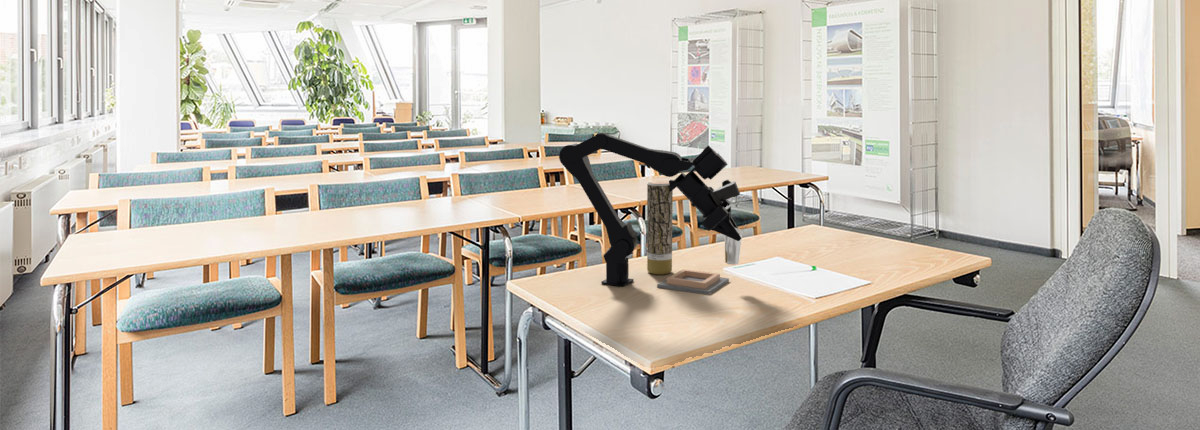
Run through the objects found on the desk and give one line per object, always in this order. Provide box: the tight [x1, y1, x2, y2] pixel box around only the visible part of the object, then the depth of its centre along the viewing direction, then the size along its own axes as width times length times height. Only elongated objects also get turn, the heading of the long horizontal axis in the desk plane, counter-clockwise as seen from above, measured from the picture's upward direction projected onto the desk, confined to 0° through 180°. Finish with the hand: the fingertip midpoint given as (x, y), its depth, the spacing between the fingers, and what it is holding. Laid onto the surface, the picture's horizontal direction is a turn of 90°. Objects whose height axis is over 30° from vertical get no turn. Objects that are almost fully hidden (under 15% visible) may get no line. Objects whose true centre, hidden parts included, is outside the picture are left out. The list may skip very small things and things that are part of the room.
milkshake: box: [723, 224, 747, 266], centre depth 177 cm, size 5×5×10 cm
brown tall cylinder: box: [646, 180, 674, 276], centre depth 193 cm, size 7×7×25 cm
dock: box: [656, 269, 730, 295], centre depth 182 cm, size 14×14×2 cm
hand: (740, 237), depth 176 cm, fingers closed on milkshake, 4 cm apart
